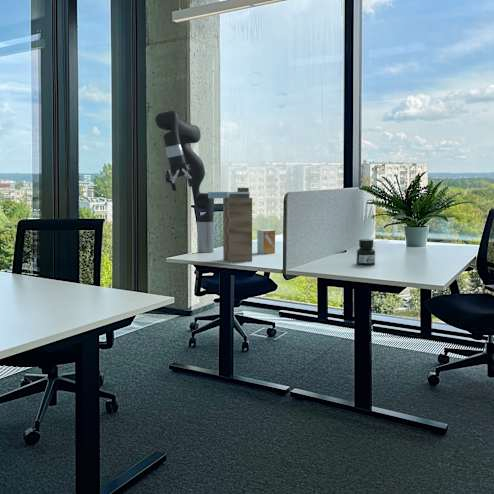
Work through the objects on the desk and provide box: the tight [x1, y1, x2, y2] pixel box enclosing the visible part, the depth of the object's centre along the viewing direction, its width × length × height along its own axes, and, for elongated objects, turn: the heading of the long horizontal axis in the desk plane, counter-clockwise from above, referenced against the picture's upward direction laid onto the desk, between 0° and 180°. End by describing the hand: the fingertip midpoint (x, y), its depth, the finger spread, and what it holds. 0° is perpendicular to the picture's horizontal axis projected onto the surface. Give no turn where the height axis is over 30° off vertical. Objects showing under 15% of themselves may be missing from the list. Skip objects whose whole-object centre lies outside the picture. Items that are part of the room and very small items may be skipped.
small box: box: [256, 229, 276, 255], centre depth 304 cm, size 8×6×13 cm
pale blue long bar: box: [207, 187, 251, 199], centre depth 272 cm, size 3×21×5 cm, turn 111°
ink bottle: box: [356, 238, 376, 266], centre depth 267 cm, size 10×9×12 cm
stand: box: [222, 194, 253, 263], centre depth 276 cm, size 10×12×34 cm
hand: (182, 188), depth 258 cm, fingers open, 8 cm apart
